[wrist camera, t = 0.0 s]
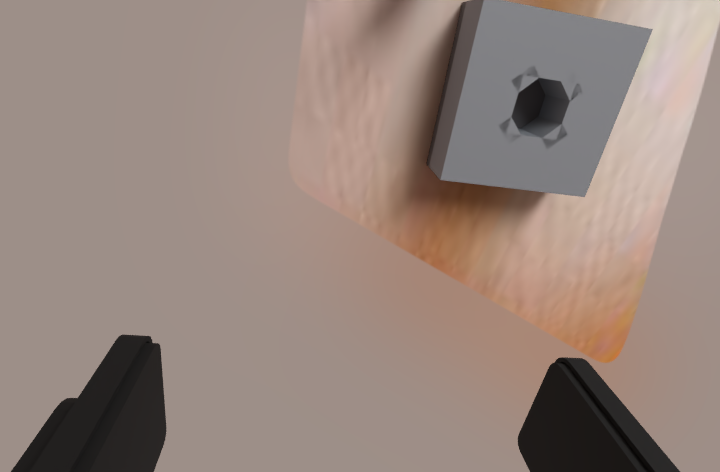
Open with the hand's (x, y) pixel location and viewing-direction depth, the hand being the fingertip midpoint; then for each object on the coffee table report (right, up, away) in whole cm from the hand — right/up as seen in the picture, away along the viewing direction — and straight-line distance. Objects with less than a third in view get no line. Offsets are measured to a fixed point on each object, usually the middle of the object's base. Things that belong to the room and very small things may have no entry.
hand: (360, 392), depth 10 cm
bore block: (+14, +16, +28) cm, 36 cm away
